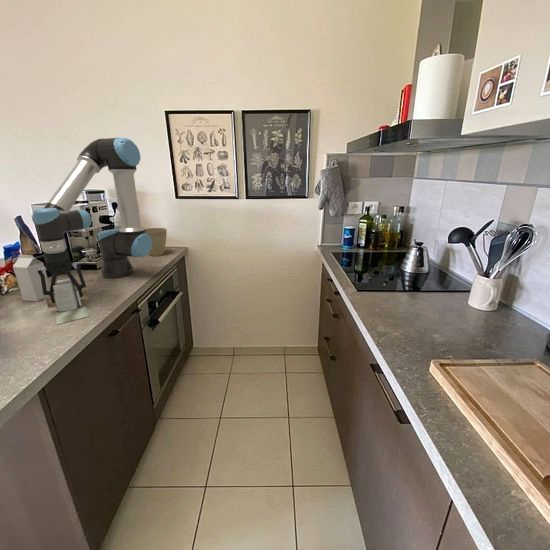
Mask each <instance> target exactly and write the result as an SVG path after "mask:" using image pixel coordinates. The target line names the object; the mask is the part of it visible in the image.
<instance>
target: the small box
mask: <svg viewBox="0 0 550 550" xmlns="http://www.w3.org/2000/svg"><path fill="white" fill-rule="evenodd" d="M53 289H54V293H55V296H56V299H57V303H58V307H59V310H60V311H59V313H62V312H66V311H70V310H75V309H78V306H79V302H78V298H77V294H76V290H75V289H77V288H76V286H75V285H74V284H73V282H72V281H71V279H70V278H68V279H67V278H66V279H61V280H56V282H55V285H54V286H53Z"/></svg>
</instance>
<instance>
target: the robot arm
mask: <svg viewBox="0 0 550 550" xmlns="http://www.w3.org/2000/svg"><path fill="white" fill-rule="evenodd" d="M76 161H77V162H76V164H75V165H74V167H72V169H71V171H69V173H68V175H67V176H66V177H65V179H64V180H63V181H62V183H61V184H60V186H59V187H58V188H57V189H56V191H55V192H54V194H53V195H52V196H51V197H50V199H49V200H48V202H47V203H46V204H45V206H44V207H43V208H37V209H34V210H33V211H32V214H31V220H32V222H33V224H34V225H35V229H36V232H37V236H38V239H39V243H40V247H41V251H42V252H44V253H42V255H43V259H44V261H45V265H44V268H42V269H38V274H39V275H40V277H41V283H42V290H43V295H49V297H50V298H51V301H52V303H56V306H55V307H56V309H57V311H58V312H60V310H59V307H58V303H57V299H56V296H55V292H54V289H53V286H54V285H55V284H56V282H57V277H59V276H63V275H64V276H65V275H67V277H68V279H71V281H72V282H73V284H74V285H75V286H76V289H75V290H76V294H77V298H78V302H79V304H78V306H79V307H83V304H82V301H81V300H80V297H83V294H82V290H83V289H84V288H86V287H87V284H86V281H85V279H84V276H83V274H82V273H83V272H82V270H81V269H82V268H81V267H82V266H81V265H82V264H81V263H80V262H72V260H71V259H70V254H69V250H67V249H68V246H67V242H66V239H65V233H69V232H75V231H78V230H84V229H87V228H89V227H90V226H91V225H92V217H91V215H90V213H89V212H88V211H86V210H84V209H75V210H71V209H72V208H73V206H74V205H75V203H76V202H77V200H78V198H80V196H81V194H83V192H84V190H85V189H86V187H87V186H88V185H89V183H90V181H91V180H92V178H93V177H94V176H95V174H98V173H100V172H101V170H103V168H105V167H107V169H108V171H109V173H110V174H112V175H113V182H114V188H115V189H114V190H115V195H116V200H117V206H118V212H119V218H120V223H121V224H120V225H121V227H120V228H112V229H107V230H106V229H105V230H103V231H100V232H98V233H97V242H98V246H99V252H100V254H101V259H102V265H101V270H100V272H101V277H103V278H104V279H118V278H124V277H126V276H130V275H132V274H133V273H134V266H133V264H132V263H131V261H130V260H129V257H133V258H144V257H146V256H147V255H148V254H150V250H151V248H152V239H151V237H150V236H149V235H148V234H146V233H145V229H146V228H145V227H143V225H142V223H141V216H140V215H141V214H140V209H139V208H140V207H139V202H138V195H137V188H136V181H135V173H136V172H137V170H138V169H137V166H138V165H139V164H140V161H141V153H140V150H139V147H138V146H137V145H136V144H135V143H134V141H133V140H131V139H130V138H127V137H111V138H98V139H95V140H93V141H92V142H90V143H89V144H87V146H85V148H83V150H82V151H81V152H80V153H79V155H78V156H77V157H76ZM72 267H73V268H74V269H75V270H76V272H77V276H78V278H79V281H80V283H81V284H80V283H79V282H78V281H77V279H76V278H75V277H74V276H73V274H72V273H71V269H72ZM45 271H47V272H49V273H50V274H51V280H50V284H49V285H50V291H47V288H46V282H45V276H44V274H45V273H46V274H47V272H45Z"/></svg>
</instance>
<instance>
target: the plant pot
mask: <svg viewBox="0 0 550 550" xmlns="http://www.w3.org/2000/svg"><path fill="white" fill-rule="evenodd" d="M167 230H168V229H167V228H164V227H153V228H151V227H150V228H145V233H146V234H148V235H149V236H150V237H151V239H152V248H151V250H150V252H149V254H150V256H152V257H159V256H162V255H164V252H165V249H166V242H167Z"/></svg>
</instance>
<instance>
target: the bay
mask: <svg viewBox="0 0 550 550" xmlns="http://www.w3.org/2000/svg"><path fill="white" fill-rule="evenodd" d="M82 294H83V297H80V300H82V301H86V300H89V296H88V295H89V294H88V291H87V289H82ZM44 299H45V302H46V305H47V309H50V308H54V307H53V306H55V307H57V306H56V303H52V301H51V298H50V296H49V297H46V298H44ZM85 299H86V300H85ZM49 307H50V308H49ZM89 316H90V314H89V311H88V309H87V306H84V307H83V306H82V307H80V308H76V309H75V310H69V311H63V312H58V313H55V320H56V324H57V326H59V325H63V324H66V323H65V322H67V323H70V322H69V321H71V322H73V320H75V321H78V320H77V319H79V320H81V318H83V319H85V318H84V317H87V318H90V317H89ZM62 323H63V324H62ZM58 324H59V325H58Z"/></svg>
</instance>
